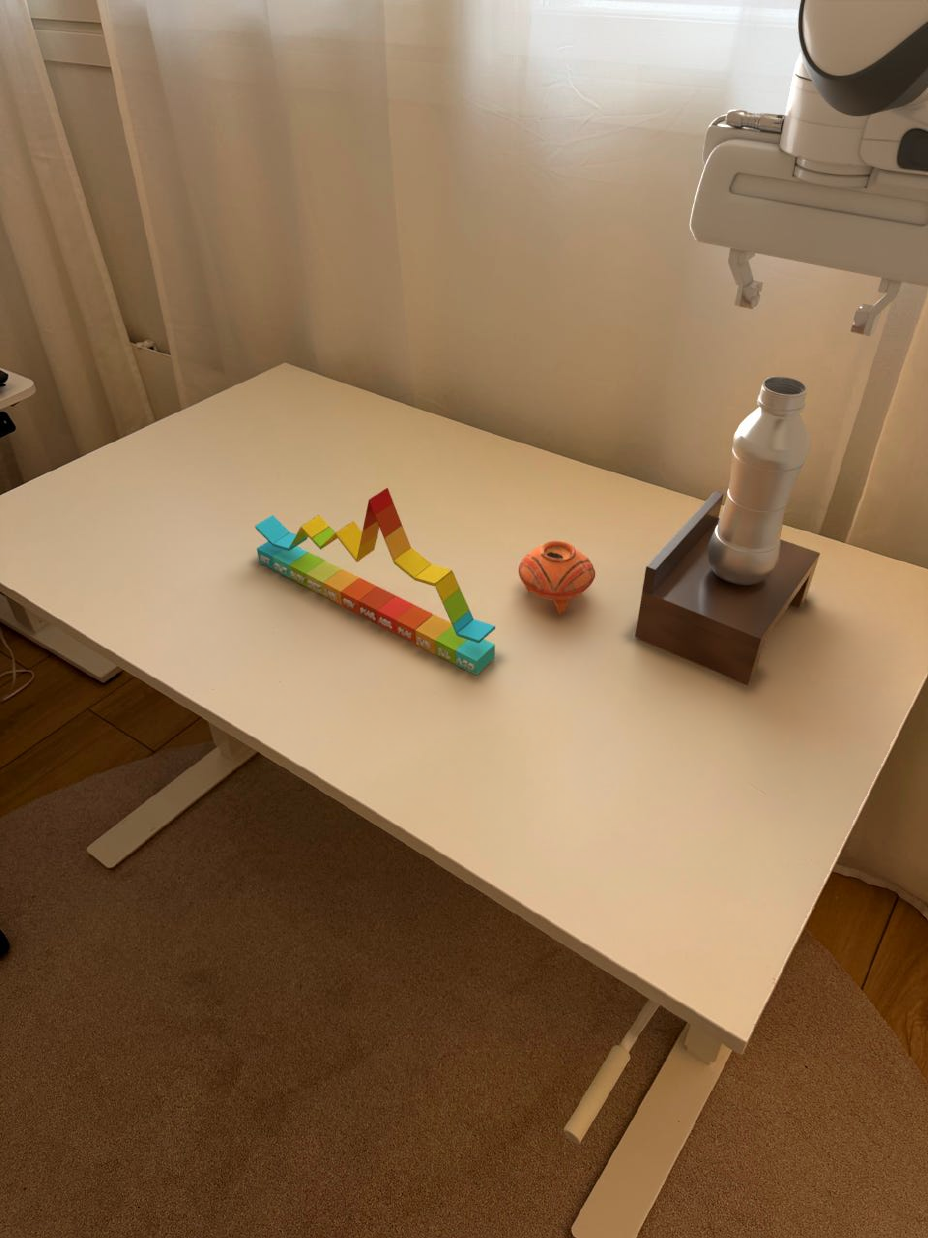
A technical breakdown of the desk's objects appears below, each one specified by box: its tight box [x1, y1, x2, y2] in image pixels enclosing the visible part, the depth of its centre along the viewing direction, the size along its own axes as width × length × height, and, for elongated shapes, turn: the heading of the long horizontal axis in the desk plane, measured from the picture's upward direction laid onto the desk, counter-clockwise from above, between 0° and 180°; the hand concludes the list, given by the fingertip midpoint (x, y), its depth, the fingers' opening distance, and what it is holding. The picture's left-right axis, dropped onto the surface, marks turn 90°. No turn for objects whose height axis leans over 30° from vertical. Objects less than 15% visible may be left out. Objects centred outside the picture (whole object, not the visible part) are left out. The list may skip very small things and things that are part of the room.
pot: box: [518, 540, 596, 615], centre depth 93 cm, size 8×8×7 cm
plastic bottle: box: [708, 375, 811, 585], centre depth 82 cm, size 6×7×20 cm
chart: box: [254, 487, 496, 676], centre depth 89 cm, size 30×3×15 cm, turn 53°
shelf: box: [634, 491, 821, 686], centre depth 90 cm, size 12×16×9 cm
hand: (802, 318), depth 71 cm, fingers open, 8 cm apart
